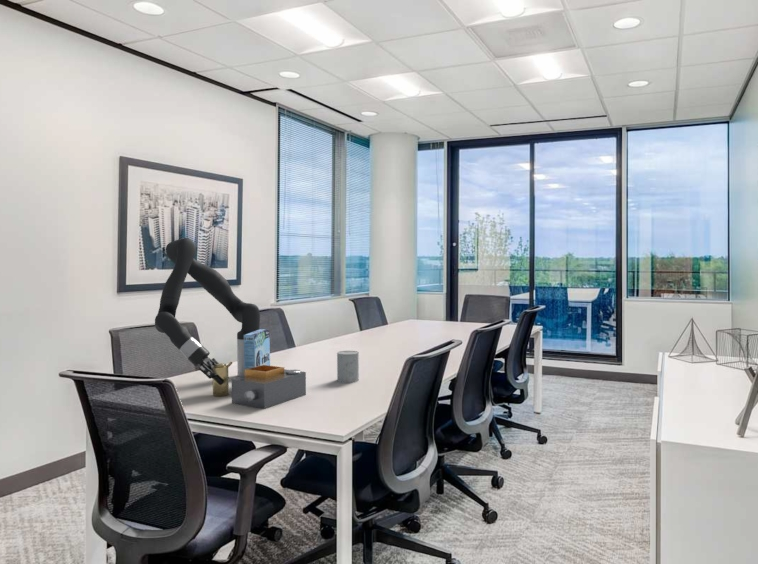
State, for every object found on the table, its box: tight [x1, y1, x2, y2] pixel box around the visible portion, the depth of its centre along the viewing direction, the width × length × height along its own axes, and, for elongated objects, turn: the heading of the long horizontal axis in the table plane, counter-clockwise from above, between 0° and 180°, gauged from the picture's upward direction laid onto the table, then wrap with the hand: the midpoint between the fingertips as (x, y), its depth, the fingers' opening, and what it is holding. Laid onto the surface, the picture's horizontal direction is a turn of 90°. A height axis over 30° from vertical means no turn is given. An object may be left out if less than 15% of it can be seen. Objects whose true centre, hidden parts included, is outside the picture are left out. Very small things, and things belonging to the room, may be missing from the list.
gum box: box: [244, 328, 271, 376], centre depth 237 cm, size 20×5×23 cm, turn 172°
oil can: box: [212, 361, 233, 397], centre depth 222 cm, size 8×6×13 cm
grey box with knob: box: [231, 364, 307, 410], centre depth 215 cm, size 27×16×12 cm, turn 150°
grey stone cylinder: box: [336, 350, 360, 384], centre depth 248 cm, size 10×10×12 cm
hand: (224, 381), depth 222 cm, fingers closed on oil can, 6 cm apart
